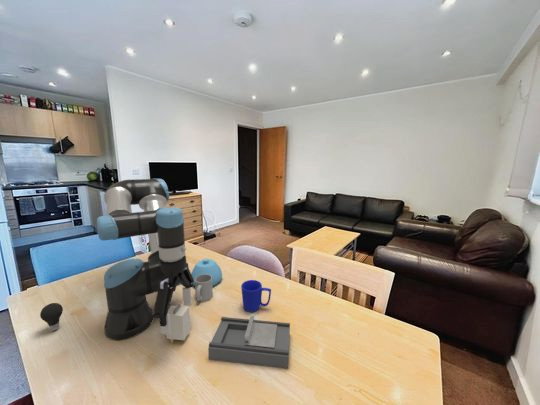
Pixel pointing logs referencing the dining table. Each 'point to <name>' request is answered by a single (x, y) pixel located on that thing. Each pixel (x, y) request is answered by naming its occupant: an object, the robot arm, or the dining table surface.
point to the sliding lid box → (234, 350)
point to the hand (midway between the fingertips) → (177, 317)
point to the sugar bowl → (207, 270)
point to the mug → (253, 295)
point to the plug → (179, 323)
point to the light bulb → (52, 315)
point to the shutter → (260, 334)
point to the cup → (203, 287)
